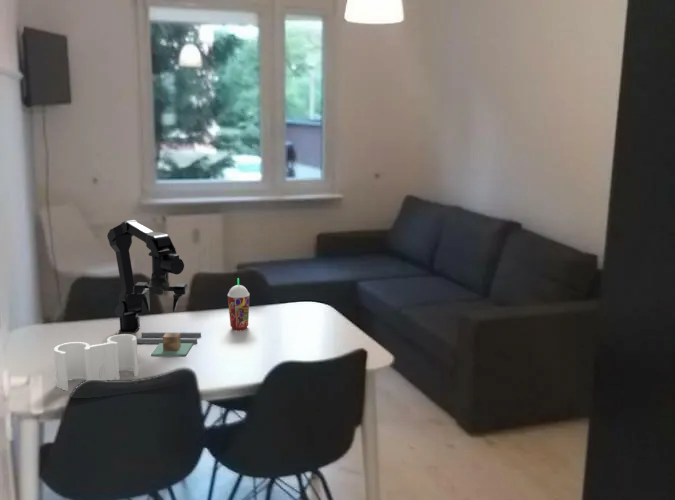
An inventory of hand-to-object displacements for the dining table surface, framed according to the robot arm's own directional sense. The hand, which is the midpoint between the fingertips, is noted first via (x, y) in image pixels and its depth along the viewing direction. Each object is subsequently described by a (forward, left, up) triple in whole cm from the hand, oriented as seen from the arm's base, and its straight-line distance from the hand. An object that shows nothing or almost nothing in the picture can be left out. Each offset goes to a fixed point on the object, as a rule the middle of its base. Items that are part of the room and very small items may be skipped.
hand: (161, 311), depth 270 cm
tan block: (+6, -10, -11) cm, 16 cm away
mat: (+6, -10, -11) cm, 16 cm away
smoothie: (+26, +16, -12) cm, 32 cm away
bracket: (-11, -38, -12) cm, 41 cm away
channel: (+2, +2, -11) cm, 12 cm away
